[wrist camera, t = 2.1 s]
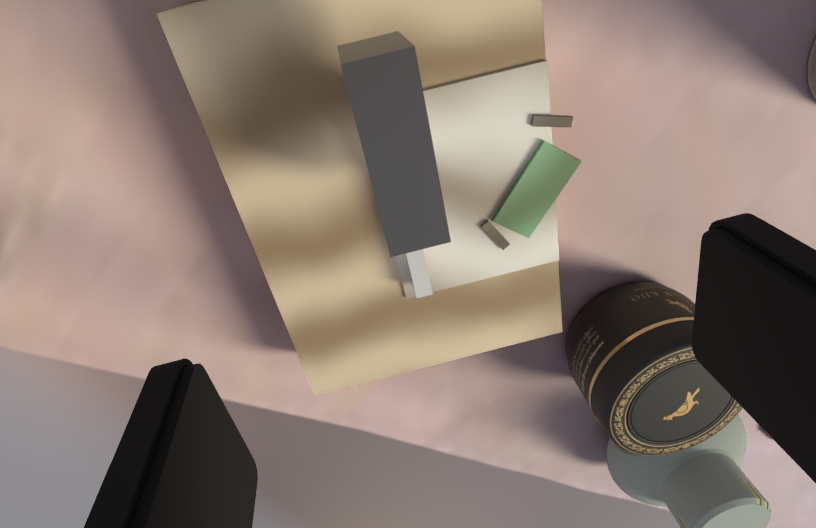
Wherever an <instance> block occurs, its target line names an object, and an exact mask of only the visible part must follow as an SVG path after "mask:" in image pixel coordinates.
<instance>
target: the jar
mask: <svg viewBox="0 0 816 528" xmlns="http://www.w3.org/2000/svg"><path fill="white" fill-rule="evenodd" d="M694 313H695V304H694V303H693V302H692V301H691V300H690V299H688V298H687V297H686V296H684V295H683V294H681V293H679V292H677V291H675V290H673V289H671V288H668V287H666V286H664V285H661V284H658V283H653V282H633V283H627V284H623V285H619V286H616V287H613V288H611V289H609V290H606V291H605V292H603V293H601V294H599V295H598V296H596V297H595V298H594V299H592V300H591V301H590V302H589V303H587V304H586V305H585V306H584V307H583V308H582V310H581V311H580V312H579V313H578V315H577V316H576V318H575V319H574V321H573V323H572V325H571V327H570V329H569V332H568V334H567V338H566V356H567V361H568V365H569V369H570V372H571V374H572V377H573V379H574V380H575V382H576V384H577V385H578V387H579V389H580V390H581V392H582V394H583V395H584V397H585V399H586V400H587V402H588V404H589V406H590V409H591V412H592V413H593V415H594V417H595V418H596V420H597V421H598V422H599V424H600V425H601V427H602V428H603V430H604V431H605V432H606V434H607V435H608V437H609V438H610V439H611V440H612V441H613V442H614V443H615V444H616V445H618V446H619V447H621V448H622V449H624V450H626V451H628V452H631V453H635V454H639V455H665V454H671V453H675V452H679V451H682V450H685V449H688V448H691V447H693V446H695V445H698V444H700V443H702V442H703V441H705V440H707V439H709V438H710V437H712V436H714V435H715V434H717V433H718V432H719V431H721V430H722V429H723V428H724V427H726V426H727V425H728V424H729V423H730V422H731V421H732V420H733V419H734V418H735V417H736V416H737V415H738V413H739V412H740V411H741V410H742V408H743V407H742V406H741V405H740V404H739V403H738V402H737V401H736V400H735V399H734V398H733V397H732V396H731V395H730V394H729V393H728V392H727V391H726V390H725V389H724V388H723V387H722V386H721V385H720V384H719V383H718V382H717V381H716V379H715V378H714V377H713V376H712V375H711V374H710V373H709V372H708V371H707V370H706V369H705V368H704V367H703V366H702V365H701V364H700V363H699V362H698V360H697V359H696V357H695V355H694V353H693V350H692V333H693V323H694Z"/></svg>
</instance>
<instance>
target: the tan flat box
mask: <svg viewBox="0 0 816 528" xmlns="http://www.w3.org/2000/svg"><path fill="white" fill-rule="evenodd" d="M156 14H157V17H158V19H159V21H160V24H161V26H162V29H163V31H164V33H165V36H166V38H167V41H168V43H169V45H170V48H171V50H172V53H173V55H174V58H175V60H176V62H177V65H178V67H179V70H180V72H181V74H182V77H183V79H184V82H185V84H186V86H187V89H188V91H189V94H190V96H191V99H192V101H193V103H194V106H195V108H196V111H197V113H198V115H199V118H200V120H201V123H202V125H203V127H204V130H205V132H206V135H207V137H208V140H209V142H210V144H211V147H212V149H213V152H214V154H215V156H216V159H217V161H218V164H219V166H220V168H221V171H222V173H223V176H224V178H225V181H226V183H227V185H228V188H229V190H230V193H231V195H232V197H233V200H234V202H235V205H236V207H237V209H238V212H239V214H240V217H241V219H242V222H243V224H244V226H245V229H246V231H247V234H248V236H249V238H250V241H251V243H252V246H253V248H254V250H255V253H256V255H257V258H258V260H259V263H260V265H261V267H262V270H263V272H264V275H265V277H266V279H267V282H268V284H269V287H270V289H271V291H272V294H273V296H274V299H275V301H276V304H277V306H278V308H279V311H280V313H281V316H282V318H283V320H284V323H285V325H286V328H287V330H288V332H289V335H290V337H291V340H292V342H293V345H294V347H295V349H296V352H297V354H298V357H299V359H300V361H301V364H302V366H303V369H304V371H305V373H306V376H307V378H308V381H309V383H310V386H311V388H312V390H313V393H314V395H319V394H323V393H327V392H331V391H335V390H339V389H342V388H346V387H350V386H354V385H358V384H362V383H366V382H370V381H374V380H377V379H381V378H385V377H389V376H393V375H397V374H401V373H405V372H409V371H413V370H416V369H420V368H424V367H428V366H432V365H436V364H440V363H444V362H448V361H451V360H455V359H459V358H463V357H467V356H471V355H475V354H479V353H483V352H487V351H490V350H494V349H498V348H502V347H506V346H510V345H514V344H518V343H522V342H526V341H529V340H533V339H537V338H541V337H545V336H549V335H553V334H557V333H561V332H563V330H562V314H561V298H560V282H559V266H558V260H559V246H558V229H557V213H556V198H557V196H558V195H559V194H560V192H561V191H562V189H563V188H564V186H565V185H566V183H567V182H568V180H569V179H570V177H571V176H572V175H573V173H574V172H575V170H576V169H577V167H578V166H579V164H580V163H581V161H580V160H579V159H577V158H575V157H573V156H572V155H570V154H568V153H566V152H564V151H563V150H561V149H559V148H557V147H555V146H553V145H552V132H551V127H571V125H572V120H573V117H572V116H559V115H550V99H549V83H548V66H547V60H546V59H545V43H544V27H543V11H542V0H203V1H199V2H195V3H191V4H186V5H182V6H178V7H175V8H172V9H169V10H165V11H162V12H159V13H156ZM396 31H398V32H400V33H401V34H402V35H403V36H404V37H405V38H406V39H407V40H409V41H410V42H411V43H412V44H413V45H414V46H415V50H416V55H417V61H418V66H419V71H420V77H421V82H422V88H423V93H424V99H425V104H426V109H427V115H428V120H429V126H430V131H431V136H432V142H433V147H434V153H435V158H436V164H437V169H438V174H439V180H440V185H441V191H442V196H443V201H444V207H445V212H446V218H447V223H448V229H449V234H450V239H451V242H449V243H445V244H441V245H437V246H433V247H429V248H425V249H423V251H424V256H425V261H426V265H427V270H428V274H429V279H430V283H431V288H432V293H433V294H432V295H428V296H424V297H420V298H417V297H416V294H415V290H414V286H413V282H412V278H411V273H410V269H409V265H408V261H407V257H406V254H402V255H398V256H394V257H390V253H389V249H388V245H387V242H386V238H385V234H384V230H383V226H382V222H381V218H380V214H379V211H378V207H377V203H376V199H375V195H374V191H373V187H372V184H371V180H370V176H369V172H368V168H367V164H366V160H365V157H364V153H363V149H362V145H361V141H360V137H359V133H358V129H357V126H356V122H355V118H354V114H353V110H352V106H351V102H350V99H349V95H348V91H347V87H346V83H345V79H344V75H343V71H342V68H341V64H340V58H339V53H338V48H337V46H339V45H343V44H347V43H351V42H355V41H359V40H363V39H367V38H372V37H376V36H380V35H384V34H388V33H392V32H396Z"/></svg>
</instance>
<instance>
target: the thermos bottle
mask: <svg viewBox="0 0 816 528" xmlns="http://www.w3.org/2000/svg"><path fill="white" fill-rule="evenodd" d="M807 76H808V84H809V88H810V91H811V94H812V95H813V97H814V98H815V100H816V38H815V40H814V42H813V45H812V49H811V52H810V55H809V60H808V68H807Z"/></svg>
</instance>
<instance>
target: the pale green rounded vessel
mask: <svg viewBox="0 0 816 528" xmlns="http://www.w3.org/2000/svg"><path fill="white" fill-rule="evenodd" d="M745 451H746V432H745V428H744V424H743V422H742V420H741V418H740V417H739V415H737V416H736V417H735V418H734V419H733V420H732V421H731V422H730V423H729V424H728V425H727V426H726V427H724V428H723V429H722V430H721V431H719V432H718V433H717V434H715V435H714V436H712V437H710V438H709V439H707V440H705V441H703V442H702V443H700V444H698V445H695V446H693V447H691V448H688V449H685V450H682V451H679V452H675V453H671V454H665V455H639V454H635V453H631V452H628V451H626V450H624V449H622V448H621V447H619V446H618V445H616V444H615V443H614V442H613V441H612V440H611V439H610V438H609V442H608V445H607V455H606V458H607V464H608V469H609V472H610V474H611V476H612V478H613V480H614V481H615V483H616V484H617V485H618V486H619V487H620V489H621V490H622V491H624V492H625V493H626V494H628V495H629V496H631V497H632V498H634V499H636V500H639V501H641V502H644V503H647V504H651V505H656V506H667V507H668V508H669V510H670V511H671V512H672V514H673V516H674V517H675V519H676V521H677V522H678V523H679V525H680V527H681V528H766V526H767V525H768V523H769V520H770V515H771V510H770V505H769V504H768V502H767V501H766V500H765V499H764V497H763V496H762V495H761V494H760V493H759V491H758V490H757V489H756V488H755V486H754V485H753V484H752V483H751V481H750V480H749V479H748V478H747V477H746V475H745V474H744V473H743V472H742V470H741V469H740V468H739V467H740V465H741V463H742V461H743V458H744V454H745Z"/></svg>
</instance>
